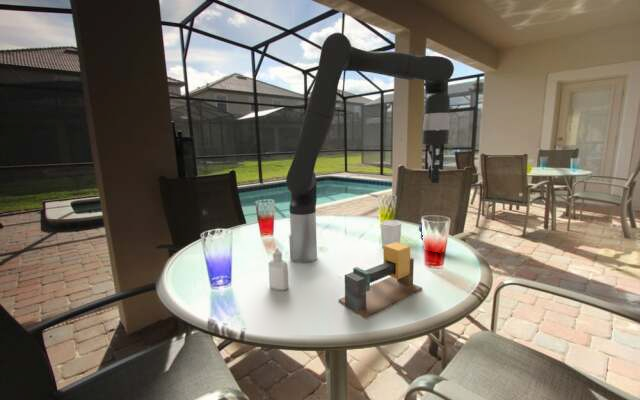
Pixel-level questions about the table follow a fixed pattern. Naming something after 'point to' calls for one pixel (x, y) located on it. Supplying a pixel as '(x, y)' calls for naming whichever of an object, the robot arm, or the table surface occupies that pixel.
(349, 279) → the wooden slider rail stand
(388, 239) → the white cup
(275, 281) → the eye dropper bottle
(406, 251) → the yellow slider block
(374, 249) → the table surface
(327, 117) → the robot arm
